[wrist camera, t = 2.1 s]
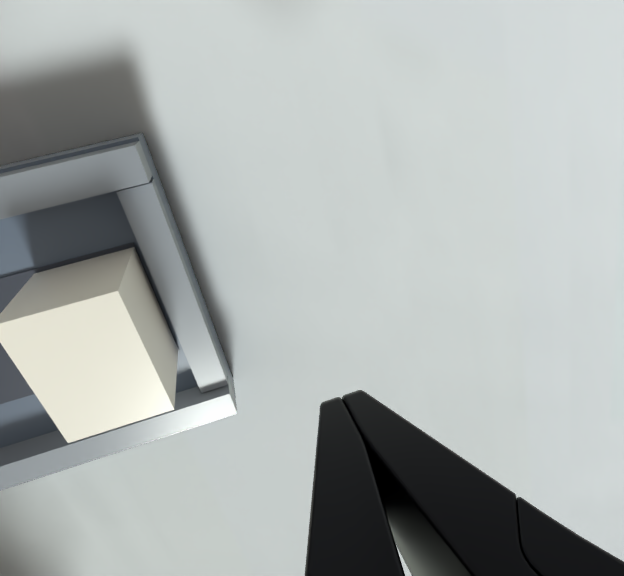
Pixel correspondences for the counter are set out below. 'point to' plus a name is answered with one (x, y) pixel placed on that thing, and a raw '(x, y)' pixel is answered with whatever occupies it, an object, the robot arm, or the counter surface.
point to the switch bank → (85, 245)
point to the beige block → (93, 344)
